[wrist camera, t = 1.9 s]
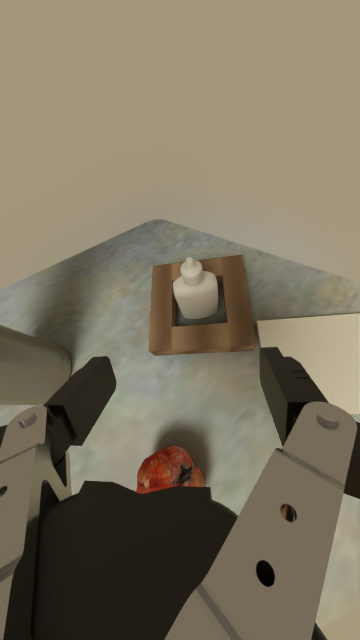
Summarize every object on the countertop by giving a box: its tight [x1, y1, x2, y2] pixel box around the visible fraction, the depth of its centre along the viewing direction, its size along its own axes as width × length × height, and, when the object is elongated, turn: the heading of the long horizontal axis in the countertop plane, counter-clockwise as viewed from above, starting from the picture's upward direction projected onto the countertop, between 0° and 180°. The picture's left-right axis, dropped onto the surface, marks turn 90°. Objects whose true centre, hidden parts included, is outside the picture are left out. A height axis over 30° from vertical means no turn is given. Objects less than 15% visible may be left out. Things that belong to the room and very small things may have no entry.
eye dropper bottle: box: [173, 257, 218, 319], centre depth 27 cm, size 4×6×12 cm
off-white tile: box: [256, 313, 360, 414], centre depth 26 cm, size 14×12×1 cm
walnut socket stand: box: [149, 255, 256, 356], centre depth 31 cm, size 14×14×3 cm
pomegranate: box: [136, 445, 204, 494], centre depth 21 cm, size 7×7×10 cm
